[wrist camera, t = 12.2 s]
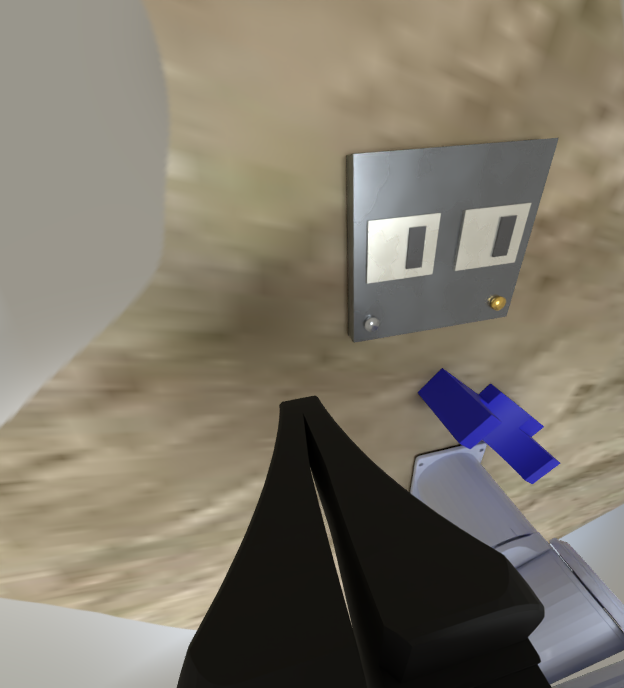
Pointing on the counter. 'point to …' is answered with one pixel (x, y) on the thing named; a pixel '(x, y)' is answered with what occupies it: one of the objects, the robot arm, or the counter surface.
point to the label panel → (439, 233)
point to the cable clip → (489, 423)
